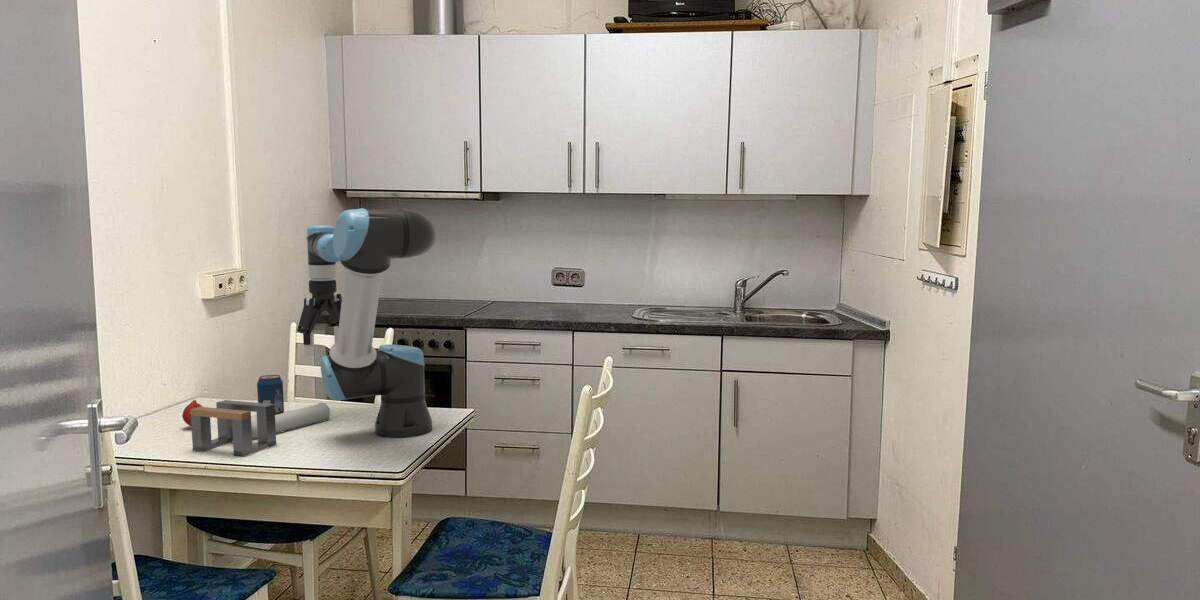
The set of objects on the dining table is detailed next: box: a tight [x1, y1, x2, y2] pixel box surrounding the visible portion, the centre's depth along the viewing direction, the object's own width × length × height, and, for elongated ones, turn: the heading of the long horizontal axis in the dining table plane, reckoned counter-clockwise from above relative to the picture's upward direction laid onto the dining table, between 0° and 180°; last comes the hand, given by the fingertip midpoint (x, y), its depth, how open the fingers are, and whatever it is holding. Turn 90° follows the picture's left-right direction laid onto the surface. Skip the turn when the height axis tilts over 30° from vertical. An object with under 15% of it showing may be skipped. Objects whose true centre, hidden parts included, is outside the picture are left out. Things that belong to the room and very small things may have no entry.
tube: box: [251, 402, 331, 440], centre depth 217 cm, size 5×5×25 cm
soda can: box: [256, 374, 285, 415], centre depth 231 cm, size 7×7×12 cm
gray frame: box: [190, 399, 277, 457], centre depth 199 cm, size 16×11×10 cm
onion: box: [182, 399, 204, 428], centre depth 219 cm, size 6×6×8 cm
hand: (324, 351), depth 230 cm, fingers open, 13 cm apart
